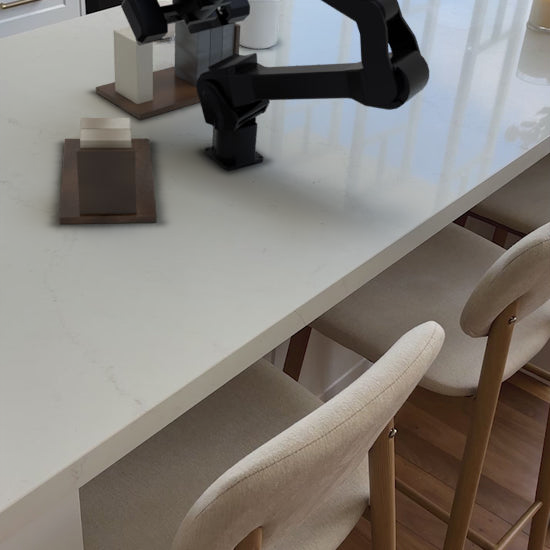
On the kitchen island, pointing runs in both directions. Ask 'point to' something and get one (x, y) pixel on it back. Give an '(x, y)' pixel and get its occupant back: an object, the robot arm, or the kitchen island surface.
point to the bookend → (181, 70)
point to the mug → (260, 24)
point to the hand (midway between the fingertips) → (164, 36)
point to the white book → (133, 67)
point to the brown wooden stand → (107, 175)
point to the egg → (164, 1)
